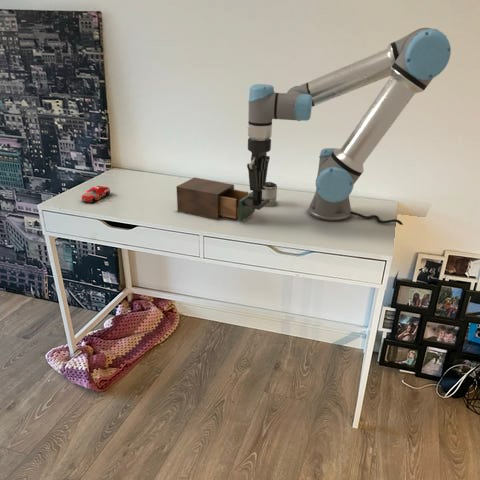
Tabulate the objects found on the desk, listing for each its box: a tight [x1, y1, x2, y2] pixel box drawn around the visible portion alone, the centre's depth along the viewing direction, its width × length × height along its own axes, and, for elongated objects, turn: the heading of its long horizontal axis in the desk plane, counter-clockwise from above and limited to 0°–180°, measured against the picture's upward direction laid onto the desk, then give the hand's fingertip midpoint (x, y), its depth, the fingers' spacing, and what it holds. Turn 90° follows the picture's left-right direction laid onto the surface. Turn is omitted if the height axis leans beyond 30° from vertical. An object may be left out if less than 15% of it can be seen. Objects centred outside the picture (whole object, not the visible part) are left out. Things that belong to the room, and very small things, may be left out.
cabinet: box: [176, 177, 235, 221], centre depth 176 cm, size 17×12×9 cm
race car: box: [81, 185, 111, 204], centre depth 185 cm, size 13×5×4 cm, turn 153°
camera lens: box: [262, 181, 278, 207], centre depth 183 cm, size 6×6×8 cm
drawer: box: [219, 188, 270, 223], centre depth 171 cm, size 22×11×7 cm, turn 63°
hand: (257, 208), depth 168 cm, fingers closed
